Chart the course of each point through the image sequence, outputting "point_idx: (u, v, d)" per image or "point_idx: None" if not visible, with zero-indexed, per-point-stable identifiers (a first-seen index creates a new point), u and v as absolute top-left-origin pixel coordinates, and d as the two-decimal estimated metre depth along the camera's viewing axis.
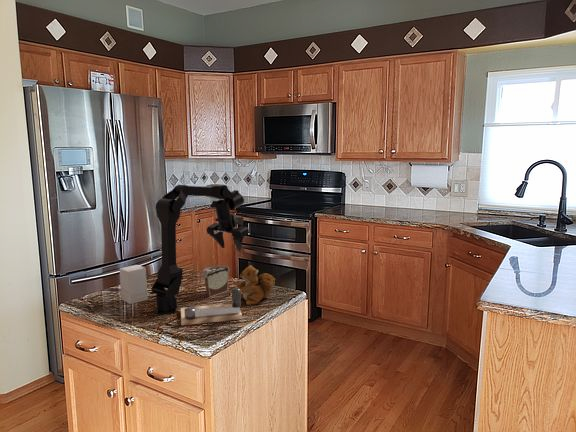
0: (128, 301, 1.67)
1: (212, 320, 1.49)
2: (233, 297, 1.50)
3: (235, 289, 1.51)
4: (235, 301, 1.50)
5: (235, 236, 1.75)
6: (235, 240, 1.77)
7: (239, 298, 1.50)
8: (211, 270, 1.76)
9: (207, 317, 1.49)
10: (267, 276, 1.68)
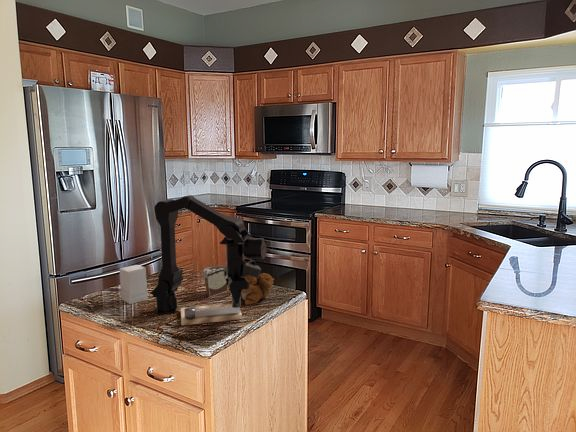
0: (128, 301, 1.67)
1: (212, 320, 1.49)
2: None
3: None
4: None
5: None
6: None
7: None
8: (211, 270, 1.76)
9: (207, 317, 1.49)
10: (266, 276, 1.69)
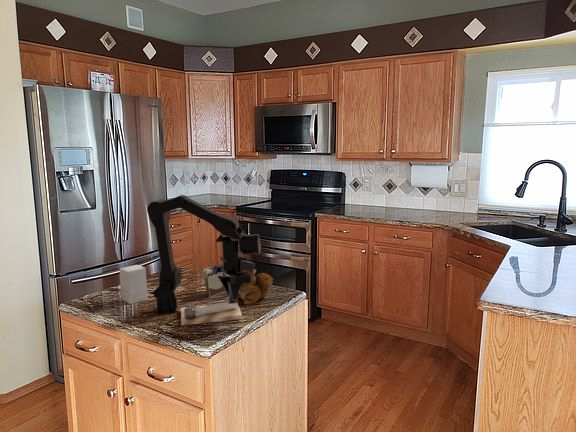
0: (128, 301, 1.67)
1: (212, 320, 1.49)
2: None
3: None
4: (232, 297, 1.54)
5: (232, 281, 1.47)
6: (229, 284, 1.51)
7: None
8: (211, 270, 1.76)
9: (207, 317, 1.49)
10: (265, 276, 1.69)
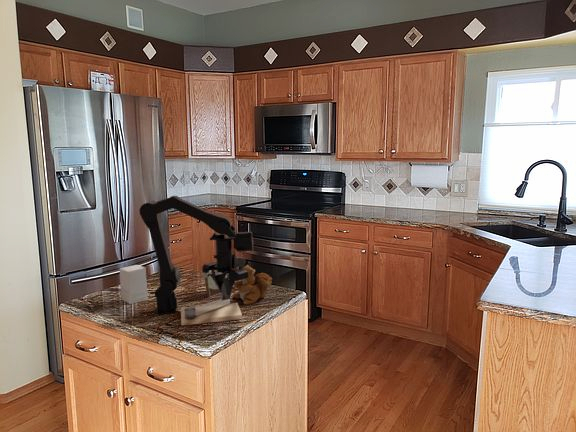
0: (128, 301, 1.67)
1: (212, 320, 1.49)
2: (225, 290, 1.58)
3: None
4: (226, 293, 1.58)
5: (231, 278, 1.51)
6: (225, 281, 1.54)
7: None
8: None
9: (207, 317, 1.49)
10: (264, 276, 1.69)
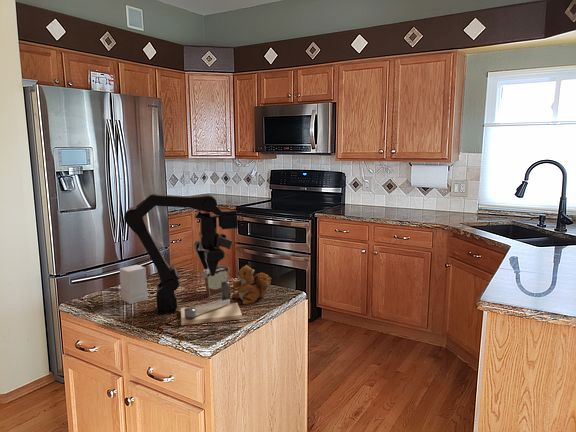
0: (128, 301, 1.67)
1: (212, 320, 1.49)
2: (225, 290, 1.58)
3: (225, 282, 1.58)
4: (226, 293, 1.58)
5: (205, 255, 1.53)
6: (206, 260, 1.54)
7: (229, 290, 1.59)
8: None
9: (207, 317, 1.49)
10: (263, 275, 1.69)
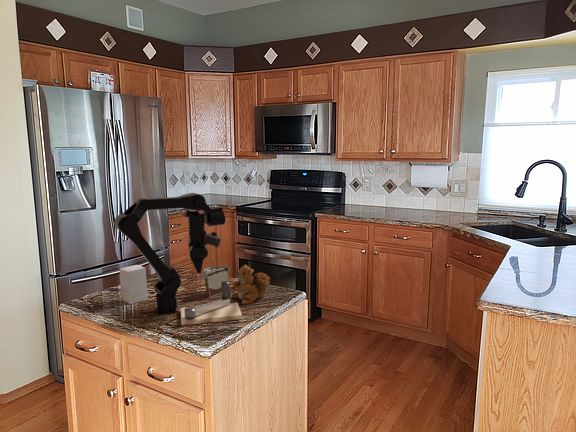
0: (128, 301, 1.67)
1: (212, 320, 1.49)
2: (225, 290, 1.58)
3: (225, 282, 1.58)
4: (226, 293, 1.58)
5: None
6: None
7: (229, 290, 1.59)
8: (211, 270, 1.76)
9: (207, 317, 1.49)
10: (262, 275, 1.70)
